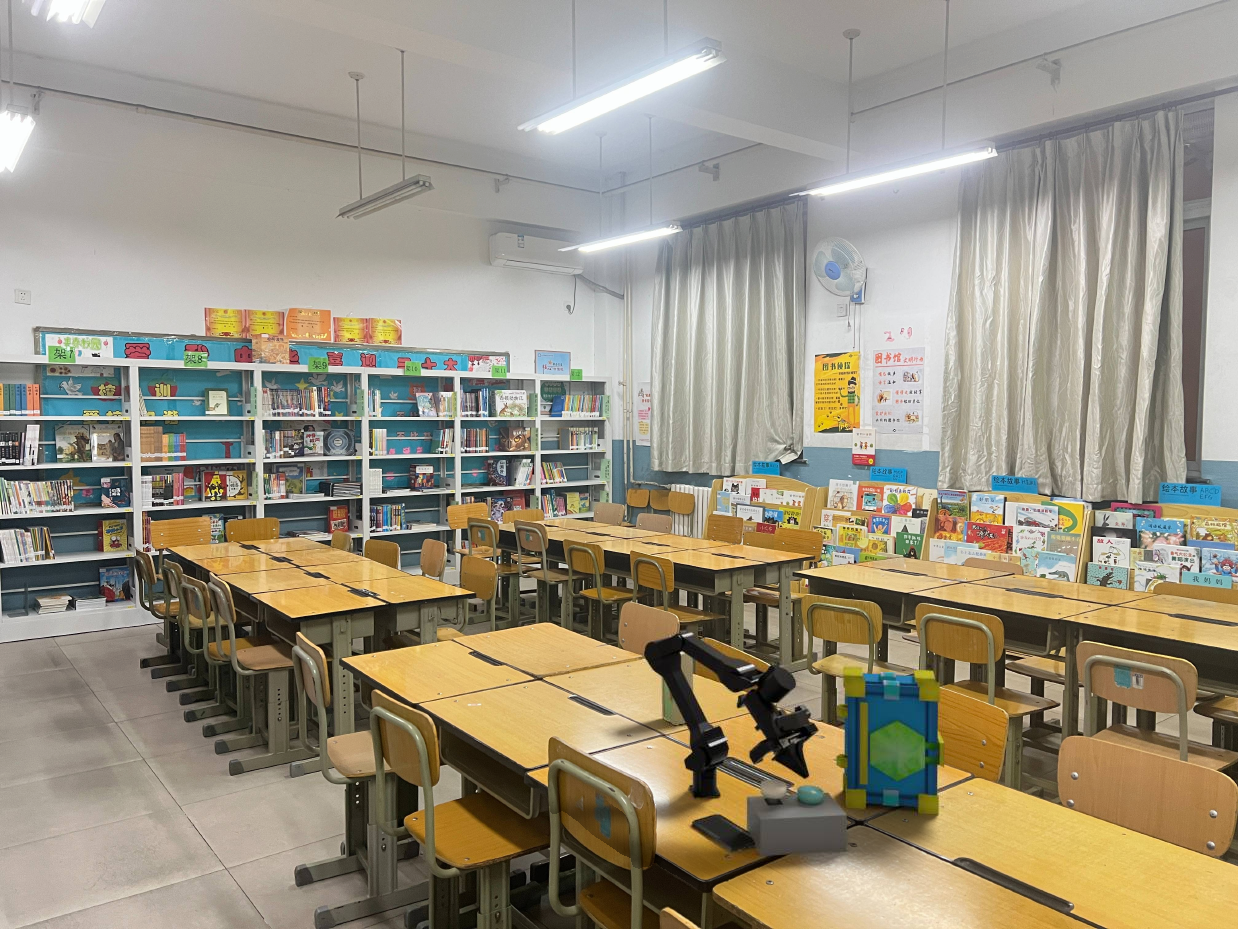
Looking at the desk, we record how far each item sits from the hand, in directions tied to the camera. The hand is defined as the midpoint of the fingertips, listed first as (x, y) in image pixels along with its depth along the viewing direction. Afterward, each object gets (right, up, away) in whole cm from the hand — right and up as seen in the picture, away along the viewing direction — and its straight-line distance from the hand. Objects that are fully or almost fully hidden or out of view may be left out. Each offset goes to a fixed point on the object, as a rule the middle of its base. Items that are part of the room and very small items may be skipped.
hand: (807, 777), depth 184 cm
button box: (-3, -12, -3) cm, 13 cm away
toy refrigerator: (-23, -10, +72) cm, 77 cm away
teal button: (+1, -7, 0) cm, 7 cm away
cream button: (-7, -6, -1) cm, 9 cm away
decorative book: (+22, -12, +16) cm, 29 cm away
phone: (-18, -13, 0) cm, 22 cm away
